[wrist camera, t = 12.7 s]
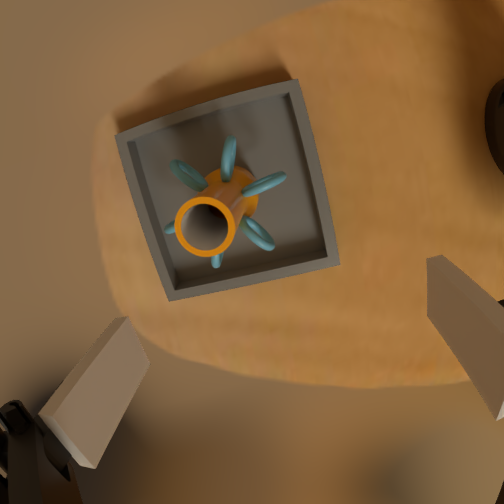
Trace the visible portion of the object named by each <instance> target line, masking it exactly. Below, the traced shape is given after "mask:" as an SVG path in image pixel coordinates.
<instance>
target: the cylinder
mask: <svg viewBox="0 0 504 504" xmlns="http://www.w3.org/2000/svg"><path fill="white" fill-rule="evenodd" d="M235 156H236V138H235V136H233V135H229V136H228V137H227V138H226V140H225V143H224V147H223V152H222V158H221V168H219V169H217V170H215V171H213V172H211V173H210V174H208V175H207V176H206V177H205V178H204V177H203V176H202V175H201V174H200V173H199V172H198V171H196V170H195V169H194V168H193V167H191V166H190V165H188V164H187V163H185V162H183V161H181V160H178V159H174V160H172V161H171V162H170V164H169V167H170V169H171V171H172V173H173V174H174V175H175V176H176V177H177V178H178V179H179V180H180V181H181V182H183V183H184V184H185V185H187V186H188V187H190V188H191V189H193V190H195V191H198V194H197V195H196V196H194V197H193V198H191V199H190V200H189V201H187V202H186V203H185V204H183V205H182V207H181V208H180V209H179V211H178V213H177V215H176V218H175V220H173V221H172V222H170V223H169V224H167V225H166V226H165V227H164V232H165V233H166V234H171V233H174V232H175V233H176V236H177V238H178V240H179V242H180V244H181V245H182V246H183V247H184V248H185V249H186V250H187V251H189V252H190V253H192V254H194V255H197V256H201V257H211V264H212V266H213V267H214V268H218V267H220V265H221V262H222V258H223V253H224V251H225V250H226V249H227V248H228V247H229V245H230V244H231V242H232V240H233V238H234V236H235V233H236V231H237V228H238V226H239V227H240V229H241V230H242V231H243V233H244V234H245V235H246V236H247V237H248V238H249V239H250V240H251V241H252V242H254V243H255V244H256V245H257V246H259V247H260V248H262V249H264V250H267V251H271V250H273V249H274V248H275V242H274V240H273V238H272V237H271V235H270V234H269V233H268V232H267V231H266V230H265V229H264V228H263V227H262V226H261V225H260V224H259V223H257V222H256V221H255V220H253V219H252V218H251V217H252V216H253V214H254V213H255V211H256V208H257V205H258V201H259V194H260V193H261V192H264V191H266V190H268V189H270V188H272V187H274V186H276V185H278V184H280V183H281V182H283V181H284V180H285V179H286V173H285V172H283V171H280V172H276V173H273V174H270V175H268V176H265V177H263V178H261V179H259V180H256V179H255V177H254V176H253V175H252V174H251V173H250V172H249V171H248V170H246V169H245V168H242V167H240V166H234V164H235ZM185 172H186V173H187V174H188V175H190V176H191V177H192V178H193V179H192V178H191V177H190V176H188V175H187V174H186V173H185ZM254 230H255V231H256V232H257V233H258V234H259V235H260V236H261V237H260V236H259V235H258V234H257V233H256V232H255V231H254Z"/></svg>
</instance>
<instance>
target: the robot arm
mask: <svg viewBox="0 0 504 504" xmlns="http://www.w3.org/2000/svg"><path fill="white" fill-rule="evenodd" d="M485 128H486V135H487V140H488V144H489V148H490V151H491V153H492V156H493V158H494V160H495V162H496V164H497V166H498V167H499V169H500V170H501V171H502V173H503V174H504V79H503V80H501V81H499V82H498V83H497V84H496V85H495V86H494V87H493V89H492V90H491V92H490V94H489V97H488V100H487V104H486V111H485ZM427 316H428V318H429V319H430V320H431V322H432V323H433V324H434V326H435V327H436V329H437V330H438V331H439V333H440V334H441V336H442V337H443V338H444V340H445V341H446V343H447V344H448V346H449V347H450V349H451V350H452V352H453V353H454V354H455V356H456V357H457V359H458V360H459V362H460V363H461V365H462V366H463V368H464V370H465V371H466V373H467V374H468V376H469V377H470V379H471V380H472V382H473V384H474V385H475V387H476V388H477V390H478V392H479V393H480V395H481V396H482V398H483V400H484V401H485V403H486V404H487V406H488V408H489V410H490V411H491V413H492V414H493V417H494V418H495V420H496V421H497V420H499V419H501V418H503V417H504V300H501V301H498V302H497V301H496V300H495V299H494V298H493V297H491V296H490V295H489V294H488V293H487V292H486V291H485V290H484V289H482V288H481V287H480V286H479V285H478V284H477V283H476V282H474V281H473V280H472V279H471V278H470V277H469V276H467V275H466V274H465V273H464V272H463V271H461V270H460V269H459V268H458V267H457V266H455V265H454V264H453V263H452V262H450V261H449V260H448V259H447V258H446V257H444V256H443V255H439V256H435V257H431V258H427ZM149 366H150V362H149V360H148V358H147V356H146V354H145V352H144V350H143V348H142V345H141V343H140V341H139V339H138V337H137V335H136V332H135V330H134V328H133V326H132V323H131V321H130V319H129V317H128V316H127V317H121V318H115V319H114V320H113V321H112V323H111V324H110V325H109V326H108V327H107V329H106V330H105V331H104V332H103V333H102V334H101V336H100V337H99V338H98V339H97V340H96V342H95V343H94V344H93V345H92V346H91V348H90V349H89V350H88V351H87V352H86V354H85V355H84V356H83V357H82V359H81V360H80V361H79V362H78V364H77V365H76V366H75V367H74V368H73V370H72V371H71V372H70V374H69V375H68V376H67V377H66V378H65V380H63V381H62V382H61V384H60V385H59V386H58V388H57V389H56V391H55V392H54V393H53V394H52V395H51V398H49V399H48V401H47V402H46V403H45V404H44V406H43V407H42V408H41V409H40V411H39V412H38V414H37V415H36V416H35V417H34V419H33V418H32V416H31V415H30V413H29V412H28V411H27V409H26V408H25V407H24V405H23V404H22V402H21V401H19V400H13V401H10V402H8V403H6V404H4V405H3V406H2V407H1V408H0V423H1V424H2V426H3V427H4V428H5V429H6V431H3V430H2V429H1V428H0V467H1V468H2V469H3V470H4V471H5V472H6V473H7V477H6V478H4V477H3V476H2V475H1V474H0V504H83V502H82V499H81V495H80V491H79V488H78V484H77V481H76V477H75V473H74V469H73V467H72V465H71V464H70V463H69V459H70V457H71V456H72V457H73V458H74V459H75V460H76V461H77V462H78V463H79V465H81V466H85V467H89V468H94V469H95V468H96V466H97V465H98V463H99V461H100V459H101V457H102V455H103V453H104V451H105V449H106V447H107V445H108V443H109V441H110V439H111V437H112V435H113V433H114V431H115V429H116V427H117V426H118V424H119V422H120V420H121V418H122V416H123V414H124V412H125V410H126V408H127V407H128V405H129V403H130V401H131V399H132V397H133V395H134V394H135V392H136V390H137V388H138V386H139V384H140V382H141V381H142V379H143V377H144V375H145V373H146V371H147V370H148V367H149ZM495 504H504V482H503V485H502V487H501V490H500V493H499V495H498V498H497V500H496V503H495Z"/></svg>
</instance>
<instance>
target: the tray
mask: <svg viewBox="0 0 504 504" xmlns="http://www.w3.org/2000/svg"><path fill="white" fill-rule="evenodd" d="M229 135H233V136H235V138H236V156H235V164H234V166H240V167H242V168H245V169H246V170H248V171H249V172H250V173H251V174H252V175H253V176H254V177H255V179H256V180H259V179H261V178H263V177H265V176H268V175H270V174H273V173H276V172H280V171H283V172H285V173H286V179H285V180H284V181H283V182H281V183H280V184H278V185H276V186H274V187H272V188H270V189H268V190H266V191H264V192H261V193H260V194H259V201H258V205H257V208H256V211H255V213H254V214H253V216H252V217H251V218H252V219H253V220H255V221H256V222H257V223H259V224H260V225H261V226H262V227H263V228H264V229H265V230H266V231H267V232H268V233H269V234H270V235H271V237H272V238H273V240H274V242H275V248H274V249H273V250H271V251H267V250H264V249H262V248H260V247H259V246H257V245H256V244H255V243H254V242H252V241H251V240H250V239H249V238H248V237H247V236H246V235H245V234H244V233H243V231H242V230H241V229H240V227H239V226H238V228H237V231H236V233H235V236H234V238H233V240H232V242H231V244H230V245H229V247H228V248H227V249H226V250H225V251H224V253H223V258H222V262H221V265H220V267H218V268H214V267H213V266H212V264H211V257H201V256H197V255H194V254H192V253H190V252H189V251H187V250H186V249H185V248H184V247H183V246H182V245H181V244H180V242H179V240H178V238H177V236H176V233H175V232H174V233H171V234H166V233H165V232H164V227H165V226H166V225H167V224H169V223H170V222H172V221H173V220H175V218H176V215H177V213H178V211H179V209H180V208H181V207H182V205H183V204H185V203H186V202H187V201H189V200H190V199H191V198H193V197H194V196H196V195H197V194H198V191H195V190H193V189H191V188H190V187H188V186H187V185H185V184H184V183H183V182H181V181H180V180H179V179H178V178H177V177H176V176H175V175H174V174H173V173H172V171H171V169H170V167H169V164H170V162H171V161H172V160H174V159H178V160H181V161H183V162H185V163H187V164H188V165H190V166H191V167H193V168H194V169H195V170H196V171H198V172H199V173H200V174H201V175H202V176H203V177H204V178H205V177H206V176H207V175H208V174H210V173H211V172H213V171H215V170H217V169H219V168H221V158H222V152H223V147H224V143H225V140H226V138H227V137H228V136H229ZM115 139H116V143H117V147H118V150H119V154H120V158H121V161H122V165H123V168H124V172H125V175H126V178H127V182H128V185H129V188H130V192H131V195H132V198H133V201H134V205H135V208H136V211H137V214H138V217H139V220H140V223H141V226H142V229H143V232H144V235H145V238H146V241H147V244H148V247H149V249H150V252H151V255H152V258H153V261H154V263H155V266H156V269H157V272H158V274H159V277H160V280H161V282H162V285H163V287H164V290H165V293H166V295H167V298H168V300H169V301H174V300H179V299H184V298H189V297H194V296H199V295H204V294H209V293H214V292H219V291H224V290H229V289H234V288H238V287H243V286H248V285H252V284H257V283H262V282H266V281H271V280H276V279H280V278H285V277H289V276H294V275H298V274H302V273H307V272H311V271H316V270H320V269H324V268H329V267H333V266H337V265H340V260H339V254H338V248H337V243H336V237H335V232H334V227H333V222H332V217H331V212H330V207H329V202H328V197H327V192H326V188H325V183H324V179H323V174H322V170H321V165H320V161H319V157H318V153H317V149H316V145H315V140H314V136H313V133H312V129H311V125H310V121H309V117H308V113H307V110H306V106H305V102H304V99H303V95H302V92H301V88H300V85H299V81H298V79H294V80H289V81H284V82H280V83H275V84H271V85H267V86H262V87H258V88H254V89H250V90H246V91H242V92H239V93H235V94H231V95H228V96H224V97H221V98H217V99H214V100H211V101H207V102H204V103H201V104H198V105H195V106H191V107H188V108H185V109H182V110H179V111H177V112H174V113H171V114H168V115H165V116H162V117H160V118H157V119H154V120H152V121H149V122H146V123H144V124H141V125H139V126H136V127H134V128H131V129H129V130H126V131H124V132H121V133H119V134H117V135H115ZM185 173H186V172H185ZM186 174H187V173H186ZM187 175H188V174H187ZM188 176H190V175H188ZM190 177H191V176H190ZM191 178H192V177H191ZM192 179H193V178H192ZM254 231H255V230H254ZM255 232H256V231H255ZM256 233H257V232H256ZM257 234H258V233H257ZM258 235H259V234H258ZM259 236H260V235H259ZM260 237H261V236H260Z"/></svg>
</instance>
